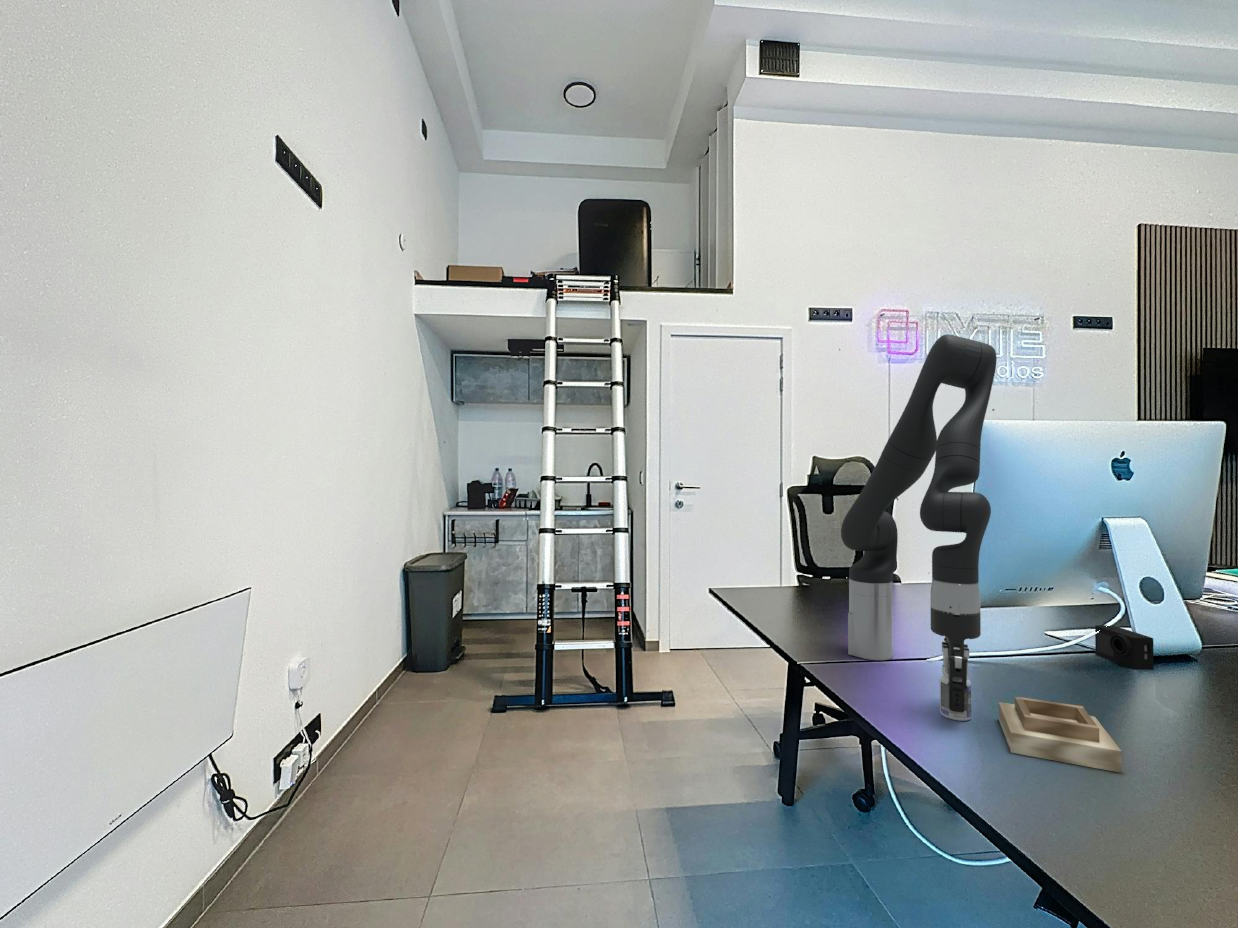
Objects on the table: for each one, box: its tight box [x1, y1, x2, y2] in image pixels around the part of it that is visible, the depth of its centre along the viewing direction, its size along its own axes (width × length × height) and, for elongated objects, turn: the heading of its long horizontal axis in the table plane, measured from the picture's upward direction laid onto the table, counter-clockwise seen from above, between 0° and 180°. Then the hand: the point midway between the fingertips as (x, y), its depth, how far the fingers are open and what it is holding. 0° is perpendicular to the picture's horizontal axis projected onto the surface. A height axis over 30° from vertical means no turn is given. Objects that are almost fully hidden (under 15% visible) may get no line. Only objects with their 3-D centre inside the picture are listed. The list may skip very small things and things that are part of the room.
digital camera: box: [1094, 624, 1155, 671], centre depth 130 cm, size 10×5×7 cm, turn 179°
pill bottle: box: [939, 664, 972, 722], centre depth 100 cm, size 5×5×8 cm
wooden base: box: [998, 696, 1123, 774], centre depth 90 cm, size 13×13×5 cm
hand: (955, 704), depth 100 cm, fingers closed on pill bottle, 4 cm apart
